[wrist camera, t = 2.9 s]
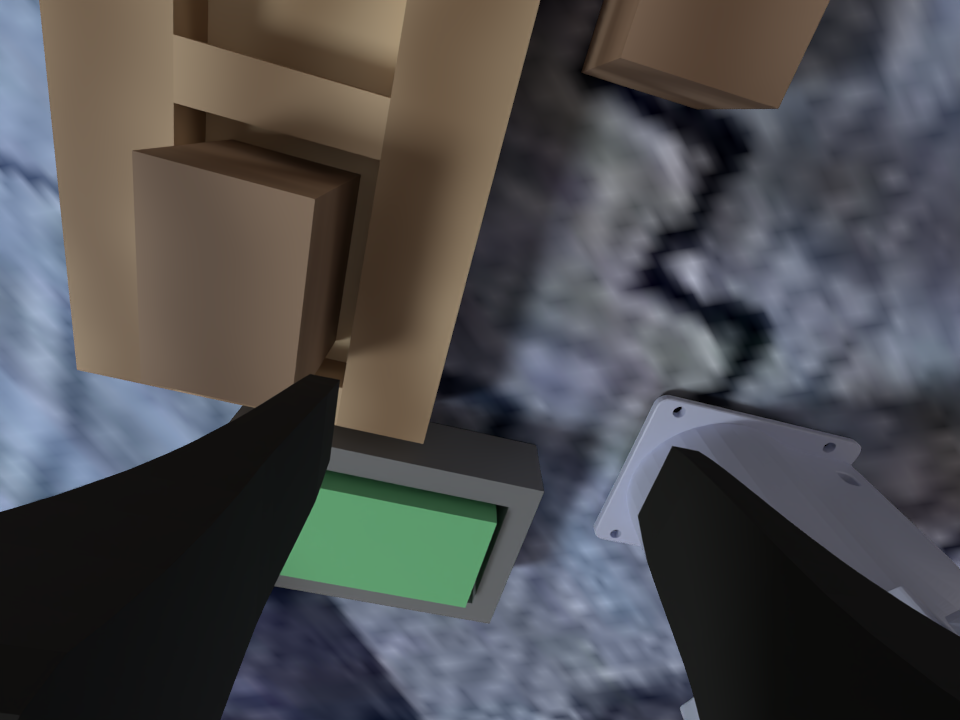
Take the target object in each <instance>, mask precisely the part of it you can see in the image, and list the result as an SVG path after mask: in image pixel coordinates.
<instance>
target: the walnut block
mask: <svg viewBox="0 0 960 720" xmlns="http://www.w3.org/2000/svg"><path fill="white" fill-rule="evenodd" d="M829 1H830V0H604V1H603V4H602V7H601V10H600V14H599V17H598V20H597V23H596V26H595V30H594V33H593V36H592V39H591V43H590V46H589V49H588V52H587V55H586V59H585V62H584V65H583V68H582V72H581V73H584V74H587V75H590V76H594V77H597V78H600V79H603V80H606V81H609V82H613V83H616V84H619V85H622V86H625V87H628V88H632V89H635V90H638V91H641V92H644V93H647V94H651V95H654V96H657V97H660V98H663V99H667V100H670V101H673V102H676V103H679V104H682V105H686V106H689V107H692V108H695V109H778V108H779V106H780V104H781V102H782V100H783V98H784V96H785V93H786V91H787V89H788V87H789V85H790V83H791V81H792V79H793V77H794V75H795V73H796V70H797V68H798V66H799V64H800V62H801V60H802V58H803V56H804V54H805V52H806V49H807V47H808V45H809V43H810V41H811V39H812V37H813V35H814V33H815V31H816V28H817V26H818V24H819V22H820V20H821V18H822V16H823V14H824V12H825V10H826V7H827V5H828V3H829Z"/></svg>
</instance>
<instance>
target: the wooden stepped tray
mask: <svg viewBox="0 0 960 720" xmlns="http://www.w3.org/2000/svg"><path fill="white" fill-rule="evenodd" d="M39 2H40V12H41V22H42V32H43V42H44V51H45V61H46V71H47V81H48V90H49V100H50V110H51V120H52V129H53V139H54V149H55V159H56V168H57V178H58V188H59V198H60V208H61V217H62V227H63V237H64V247H65V256H66V266H67V276H68V286H69V295H70V305H71V315H72V325H73V334H74V344H75V354H76V364H77V370H80V371H85V372H90V373H94V374H99V375H104V376H108V377H113V378H118V379H122V380H127V381H132V382H136V383H141V384H146V385H150V386H155V387H160V388H164V389H169V390H174V391H178V392H183V393H188V394H192V395H197V396H202V397H206V398H211V399H216V400H220V401H225V402H230V403H234V404H239V405H244V406H248V407H253V408H255V406H250V405H246V404H241V403H236V402H232V401H227V400H222V399H218V398H213V397H208V396H204V395H199V394H195V393H190V392H185V391H181V390H176V389H171V388H167V387H162V386H157V385H153V384H148V383H143V382H141V371H140V345H139V319H138V294H137V268H136V243H135V217H134V191H133V166H132V150H141V149H150V148H158V147H167V146H176V145H185V144H194V143H203V142H212V141H221V140H230V139H233V140H237V141H241V142H244V143H248V144H251V145H255V146H259V147H262V148H266V149H270V150H273V151H277V152H281V153H284V154H288V155H291V156H295V157H299V158H302V159H306V160H310V161H313V162H317V163H321V164H324V165H328V166H332V167H335V168H339V169H342V170H346V171H350V172H353V173H357V174H361V178H360V185H359V191H358V198H357V204H356V211H355V218H354V224H353V231H352V237H351V244H350V250H349V257H348V264H347V270H346V277H345V283H344V290H343V296H342V303H341V310H340V316H339V323H338V329H337V336H336V341H335V343H334V344H333V346H332V348H331V349H330V351H329V353H328V354H327V356H326V357H325V359H324V361H323V362H322V364H321V365H320V367H319V369H318V370H317V372H316V373H315V375H318V376H323V377H328V378H333V379H338V380H340V385H339V392H338V400H337V408H336V416H335V424H334V425H337V426H341V427H346V428H351V429H355V430H360V431H365V432H369V433H374V434H379V435H383V436H388V437H393V438H397V439H402V440H407V441H411V442H416V443H421V444H423V443H424V440H425V436H426V432H427V428H428V424H429V421H430V417H431V413H432V409H433V405H434V402H435V398H436V394H437V390H438V386H439V383H440V379H441V375H442V371H443V367H444V364H445V360H446V356H447V352H448V348H449V345H450V341H451V337H452V333H453V329H454V326H455V322H456V318H457V314H458V310H459V307H460V303H461V299H462V295H463V291H464V288H465V284H466V280H467V276H468V273H469V269H470V265H471V261H472V257H473V254H474V250H475V246H476V242H477V238H478V235H479V231H480V227H481V223H482V219H483V216H484V212H485V208H486V204H487V200H488V197H489V193H490V189H491V185H492V181H493V178H494V174H495V170H496V166H497V162H498V159H499V155H500V151H501V147H502V143H503V140H504V136H505V132H506V128H507V124H508V121H509V117H510V113H511V109H512V106H513V102H514V98H515V94H516V90H517V87H518V83H519V79H520V75H521V71H522V68H523V64H524V60H525V56H526V52H527V49H528V45H529V41H530V37H531V33H532V30H533V26H534V22H535V18H536V14H537V11H538V7H539V3H540V0H39Z"/></svg>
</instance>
